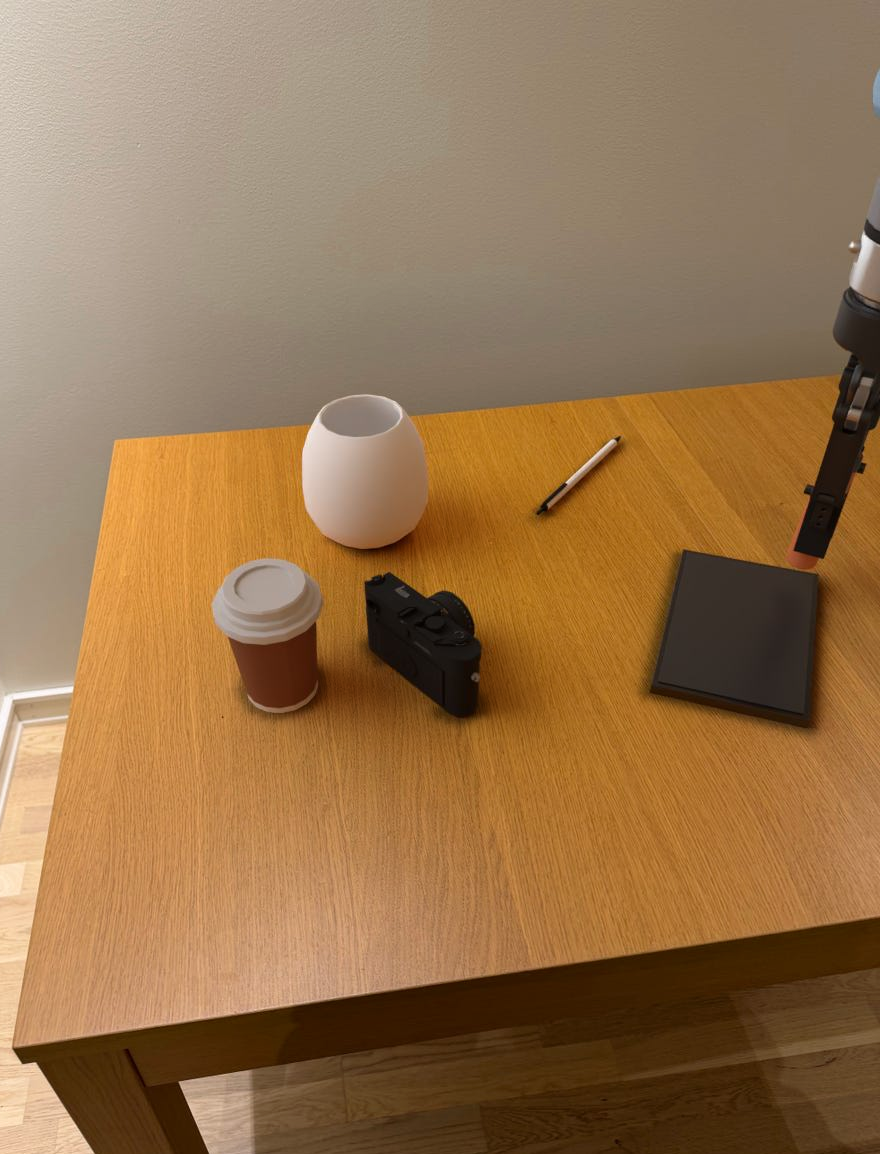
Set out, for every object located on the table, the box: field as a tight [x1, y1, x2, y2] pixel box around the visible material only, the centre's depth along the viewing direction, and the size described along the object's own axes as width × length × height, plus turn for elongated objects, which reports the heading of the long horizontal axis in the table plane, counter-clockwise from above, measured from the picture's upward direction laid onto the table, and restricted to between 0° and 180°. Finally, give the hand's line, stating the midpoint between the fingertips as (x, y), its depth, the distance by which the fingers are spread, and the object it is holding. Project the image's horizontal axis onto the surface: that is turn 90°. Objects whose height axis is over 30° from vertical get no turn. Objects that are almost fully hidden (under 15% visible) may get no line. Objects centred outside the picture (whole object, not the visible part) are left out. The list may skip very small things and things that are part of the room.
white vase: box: [301, 393, 430, 550], centre depth 95 cm, size 13×13×14 cm
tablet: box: [649, 549, 820, 729], centre depth 85 cm, size 20×13×1 cm, turn 160°
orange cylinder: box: [785, 451, 864, 571], centre depth 83 cm, size 3×3×12 cm
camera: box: [363, 571, 483, 718], centre depth 81 cm, size 14×7×8 cm, turn 41°
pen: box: [535, 435, 622, 516], centre depth 104 cm, size 1×19×1 cm, turn 143°
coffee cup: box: [211, 557, 324, 714], centre depth 78 cm, size 9×9×12 cm
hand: (813, 542), depth 85 cm, fingers closed on orange cylinder, 3 cm apart
